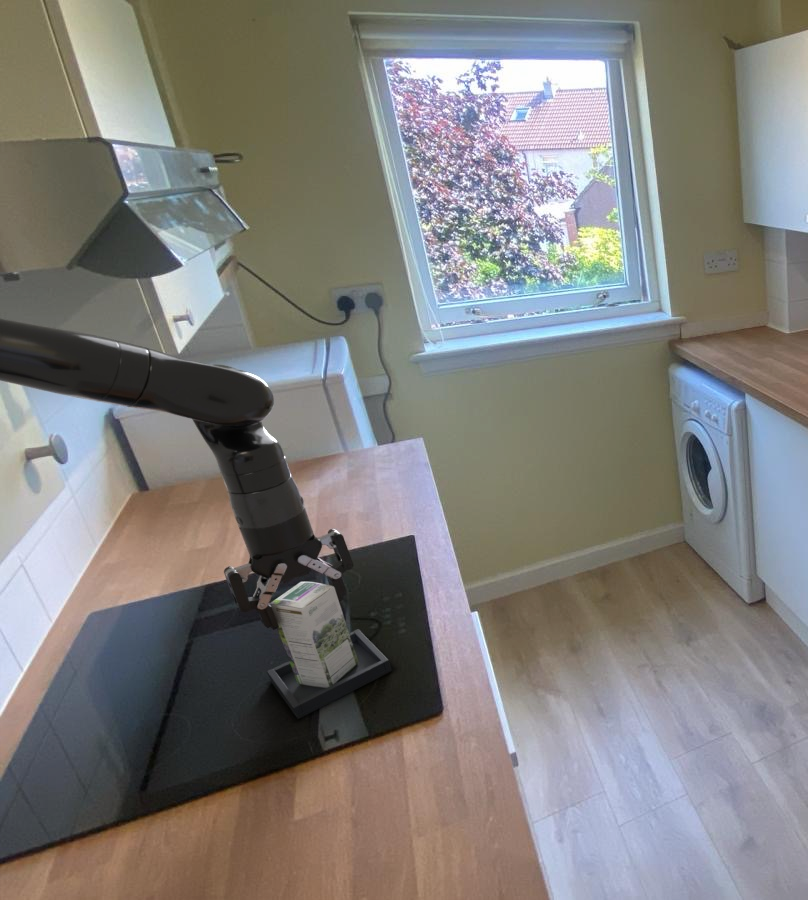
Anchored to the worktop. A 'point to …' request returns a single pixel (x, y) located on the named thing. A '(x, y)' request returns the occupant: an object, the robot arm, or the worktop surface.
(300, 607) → the syrup box
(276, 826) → the worktop surface
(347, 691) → the tray
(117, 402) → the robot arm
